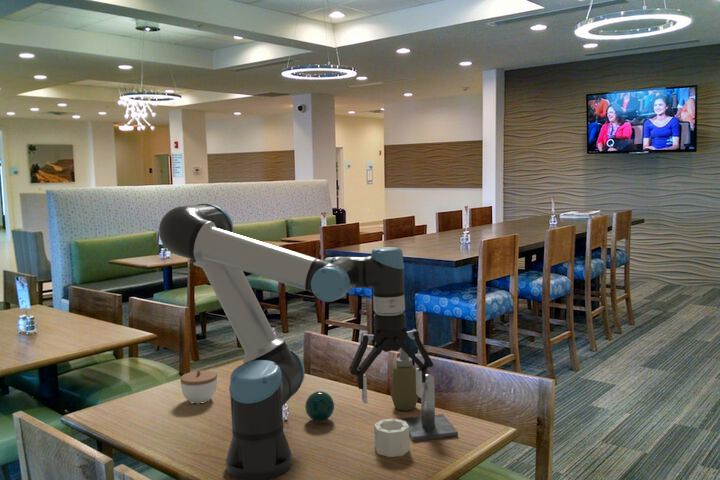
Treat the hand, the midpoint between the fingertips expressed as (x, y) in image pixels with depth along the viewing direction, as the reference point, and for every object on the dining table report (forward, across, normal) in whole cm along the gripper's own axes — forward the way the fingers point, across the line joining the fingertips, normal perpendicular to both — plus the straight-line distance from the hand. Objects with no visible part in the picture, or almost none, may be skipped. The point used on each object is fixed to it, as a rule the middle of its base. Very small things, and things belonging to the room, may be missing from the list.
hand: (392, 398), depth 144 cm
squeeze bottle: (+13, +10, +25) cm, 30 cm away
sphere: (+13, -16, +22) cm, 30 cm away
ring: (+13, 0, 0) cm, 13 cm away
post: (+13, +12, +9) cm, 20 cm away
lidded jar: (+12, -50, +46) cm, 69 cm away
